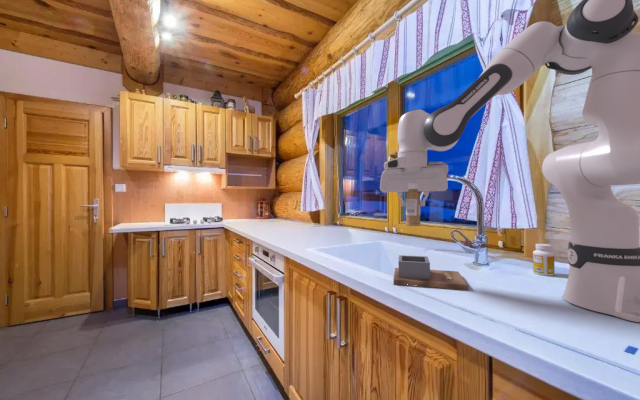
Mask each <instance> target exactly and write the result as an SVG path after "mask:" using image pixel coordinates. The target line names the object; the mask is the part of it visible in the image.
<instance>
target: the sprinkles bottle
mask: <svg viewBox="0 0 640 400" xmlns="http://www.w3.org/2000/svg"><path fill="white" fill-rule="evenodd" d="M408 189H409V190H408V192H405V201H406V203H405V204H406V206H405V226H408V227H420V226H421V206H420V201H421V192H420V191H418V190H417V189H418V184H417V183H409V184H408Z"/></svg>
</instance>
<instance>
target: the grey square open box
mask: <svg viewBox="0 0 640 400" xmlns="http://www.w3.org/2000/svg"><path fill="white" fill-rule="evenodd" d="M398 268H399V278H412V279H427V280H430V270H431V263H430V260H429V257H428V256H426V255H425V256H423V255H422V256H421V255H404V254H403V255H402V254H401V255H398Z"/></svg>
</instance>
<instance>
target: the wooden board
mask: <svg viewBox="0 0 640 400" xmlns="http://www.w3.org/2000/svg"><path fill="white" fill-rule="evenodd" d="M407 284H408V285H417V286H416V287H419V286H427V287H426V288H432V287H438V288H437V289H447V290H448V289H449V290H458V291H459V290H460V291H468V290H469V289H468V288H469V285H468V284H467V282H466V280H465V279H464V278H463V275H461V273H460V272H459V271H457V270H440V269H430V280H427V279H412V278H399V267H394V274H393V285H396V286H406V285H407Z"/></svg>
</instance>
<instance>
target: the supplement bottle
mask: <svg viewBox="0 0 640 400" xmlns="http://www.w3.org/2000/svg"><path fill="white" fill-rule="evenodd" d="M532 259H533V260H532V264H533V266H532V267H533V268H532V269H533V270H532V271H533V272H532V273H534V274H536V275H539V276H545V277H553V276H555V253H554V252H553V251H552V245H551V244H549V243H548V244H547V243H535V250H533V251H532Z"/></svg>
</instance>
